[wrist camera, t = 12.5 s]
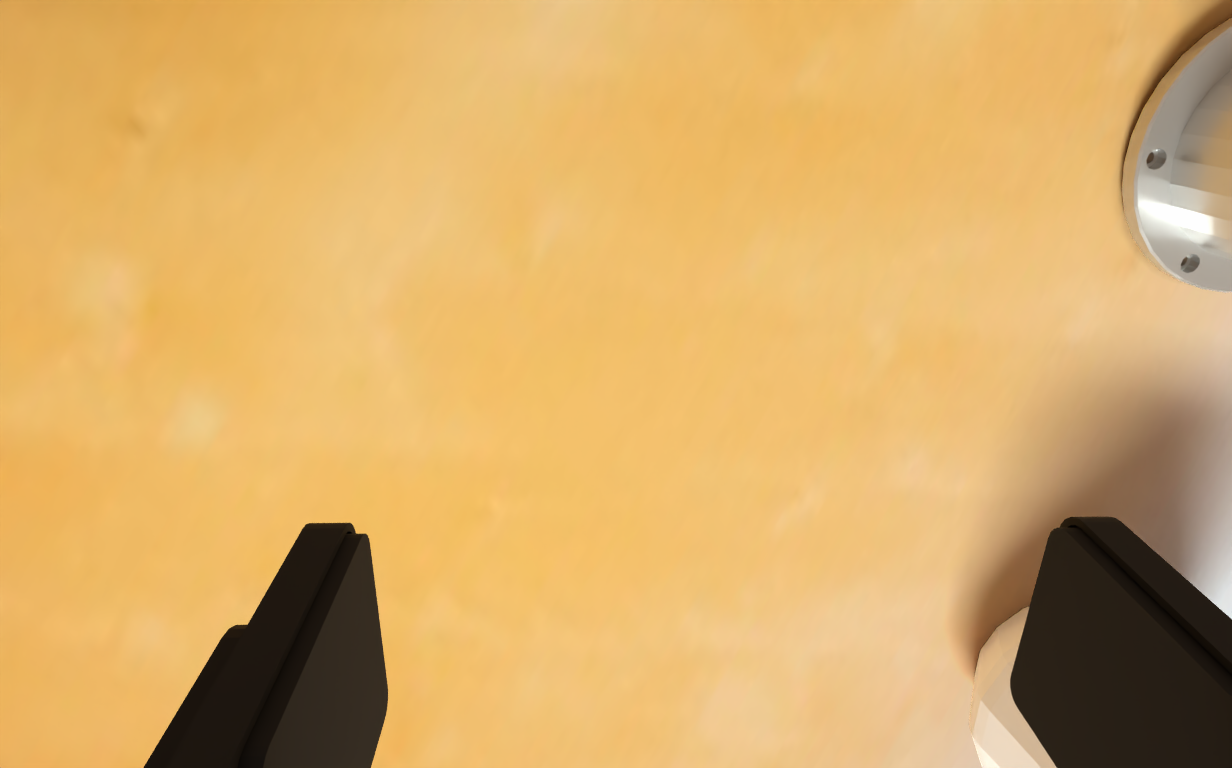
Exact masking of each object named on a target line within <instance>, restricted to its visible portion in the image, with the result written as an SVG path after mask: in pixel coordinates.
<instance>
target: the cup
mask: <svg viewBox="0 0 1232 768" xmlns="http://www.w3.org/2000/svg"><path fill="white" fill-rule="evenodd" d="M1029 607H1030V606H1029ZM1029 607H1026V608H1023V609H1022V610H1020V611H1019V612H1017V613H1016V614H1015V615H1013V616H1012V617H1011V618H1009V619H1008V620H1006V621H1005V622H1004V623H1002V624H1001V625H999V626H998V627H997V628H996V629H995V631H994V632H993V633H992V635H991V636H990V638H989V639H988V640H987V642H986V643H985V645H984V646H983V647H982V649H981V650H980V653H979V658H978V662H977V667H976V671H975V676H974V685H973V693H972V701H971V709H970V718H969V727H970V731H971V734H972V737H973V740H974V744H975V747H976V750H977V753H978V756H979V760H980V763H981V766H982V768H1057V767H1056V766H1055V764H1054V763H1053V761H1052V760H1051V758H1050V757H1049V755H1048V754H1047V752H1046V751H1045V749H1044V748H1043V746H1042V744H1041V743H1040V741H1039V740H1038V738H1037V737H1036V735H1035V734H1034V732H1033V731H1032V729H1031V728H1030V726H1029V725H1028V723H1027V722H1026V720H1025V719H1024V717H1023V716H1022V714H1021V713H1020V711H1019V710H1018V708H1017V706H1016V704H1015V703H1014V700H1013V697H1012V694H1011V689H1010V678H1011V673H1012V669H1013V666H1014V662H1015V658H1016V655H1017V651H1018V647H1019V644H1020V640H1021V636H1022V633H1023V629H1024V625H1025V622H1026V618H1027V614H1028V611H1029Z"/></svg>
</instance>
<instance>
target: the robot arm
mask: <svg viewBox="0 0 1232 768" xmlns="http://www.w3.org/2000/svg"><path fill="white" fill-rule="evenodd" d="M1122 197H1123V205H1124V214H1125V218H1126V221H1127V224H1128V226H1129V229H1130V232H1131V235H1132V238H1133V239H1134V241H1135V242H1136V244H1137V245H1138V247H1139V249H1140V250H1141V252H1142V253H1143V255H1144V256H1145V257H1146V258H1147V259H1148V260H1149V261H1150V262H1151V263H1152V264H1154V265H1155V266H1156V267H1157V268H1158V269H1159V270H1160V271H1162V272H1164V273H1166V274H1167V275H1169V276H1171V277H1173V278H1175V279H1177V280H1179V281H1181V282H1184V283H1187V284H1190V285H1193V286H1196V287H1198V288H1201V289H1205V290H1212V291H1219V292H1232V17H1231V18H1230V19H1228V20H1227V21H1225V22H1224V23H1222V24H1221V25H1219V26H1218V27H1216V28H1215V29H1213V30H1211V31H1210V32H1208V33H1207V34H1206V35H1205V36H1203V37H1202V38H1201V39H1200V40H1199V41H1198V42H1197V43H1195V44H1194V45H1193V46H1192V47H1191V48H1190V49H1189V50H1188V51H1186V52H1185V53H1184V54H1183V55H1182V56H1181V57H1180V58H1179V59H1178V61H1177V62H1176V63H1175V64H1174V65H1173V67H1172V68H1171V69H1170V70H1169V71H1168V72H1167V74H1166V75H1165V76H1164V77H1163V78H1162V80H1161V81H1160V82H1159V84H1158V86H1157V87H1156V89H1155V90H1154V92H1153V94H1152V95H1151V97H1150V98H1149V100H1148V101H1147V103H1146V105H1145V106H1144V108H1143V110H1142V112H1141V115H1140V117H1139V119H1138V122H1137V124H1136V126H1135V128H1134V131H1133V133H1132V135H1131V139H1130V142H1129V146H1128V150H1127V154H1126V158H1125V162H1124V169H1123V182H1122ZM1010 689H1011V694H1012V697H1013V700H1014V703H1015V704H1016V706H1017V708H1018V710H1019V711H1020V713H1021V714H1022V716H1023V717H1024V719H1025V720H1026V722H1027V723H1028V725H1029V726H1030V728H1031V729H1032V731H1033V732H1034V734H1035V735H1036V737H1037V738H1038V740H1039V741H1040V743H1041V744H1042V746H1043V748H1044V749H1045V751H1046V752H1047V754H1048V755H1049V757H1050V758H1051V760H1052V761H1053V763H1054V764H1055V766H1056V767H1057V768H1232V619H1231V618H1229V617H1228V616H1227V615H1226V614H1225V613H1224V612H1223V611H1222V610H1220V609H1219V608H1218V607H1217V606H1216V605H1215V604H1214V603H1212V602H1211V601H1210V600H1209V599H1208V598H1207V597H1206V596H1205V595H1203V594H1202V593H1201V592H1200V591H1199V590H1198V589H1197V588H1195V587H1194V586H1193V585H1192V584H1191V583H1190V582H1189V581H1188V580H1186V579H1185V578H1184V577H1183V576H1182V575H1181V574H1180V573H1178V572H1177V571H1176V570H1175V569H1174V568H1173V567H1172V566H1171V565H1169V564H1168V563H1167V562H1166V561H1165V560H1164V559H1163V558H1162V557H1160V556H1159V555H1158V554H1157V553H1156V552H1155V551H1154V550H1152V549H1151V548H1150V547H1149V546H1148V545H1147V544H1146V543H1145V542H1143V541H1142V540H1141V539H1140V538H1139V537H1138V536H1137V535H1135V534H1134V533H1133V532H1132V531H1131V530H1130V529H1129V528H1128V527H1126V526H1125V525H1124V524H1123V523H1122V522H1121V521H1119V520H1117V519H1116V518H1113V517H1070V518H1067V519H1065V520H1064V522H1063V523H1062V524H1061V526H1060V528H1056V529H1054V530H1053V531H1052V532H1051V533H1050V535H1049V538H1048V541H1047V545H1046V549H1045V552H1044V556H1043V560H1042V563H1041V567H1040V570H1039V574H1038V578H1037V581H1036V585H1035V589H1034V592H1033V596H1032V600H1031V603H1030V607H1029V611H1028V614H1027V618H1026V622H1025V625H1024V629H1023V633H1022V636H1021V640H1020V644H1019V647H1018V651H1017V655H1016V658H1015V662H1014V666H1013V669H1012V673H1011V678H1010ZM387 703H388V686H387V678H386V670H385V662H384V654H383V646H382V637H381V629H380V621H379V613H378V605H377V597H376V589H375V581H374V573H373V565H372V557H371V549H370V542H369V538H368V535H366V534H356V533H355V529H354V527H353V525H352V524H351V523H309V524H306V525H305V527H304V528H303V529H302V531H301V533H300V534H299V536H298V538H297V540H296V541H295V543H294V545H293V547H292V548H291V550H290V552H289V554H288V555H287V557H286V559H285V561H284V562H283V564H282V566H281V568H280V569H279V571H278V573H277V575H276V576H275V578H274V580H273V582H272V583H271V585H270V587H269V589H268V590H267V592H266V594H265V596H264V597H263V599H262V601H261V603H260V604H259V606H258V608H257V609H256V611H255V613H254V615H253V616H252V618H251V620H250V622H249V623H248V625H235V626H233V627H231V628H230V629H228V631H227V632H226V633H225V634H224V636H223V637H222V638H221V640H220V642H219V643H218V645H217V647H216V648H215V650H214V652H213V653H212V655H211V657H210V658H209V660H208V662H207V663H206V665H205V667H204V668H203V670H202V672H201V673H200V675H199V677H198V678H197V680H196V682H195V683H194V685H193V687H192V688H191V690H190V692H189V693H188V695H187V696H186V698H185V700H184V701H183V703H182V705H181V706H180V708H179V710H178V711H177V713H176V715H175V716H174V718H173V720H172V721H171V723H170V725H169V726H168V728H167V730H166V731H165V733H164V735H163V736H162V738H161V740H160V741H159V743H158V745H157V746H156V748H155V750H154V751H153V753H152V754H151V756H150V758H149V759H148V761H147V763H146V764H145V766H144V768H371V765H372V761H373V758H374V755H375V751H376V748H377V744H378V741H379V737H380V734H381V730H382V727H383V723H384V720H385V716H386V711H387Z"/></svg>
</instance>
